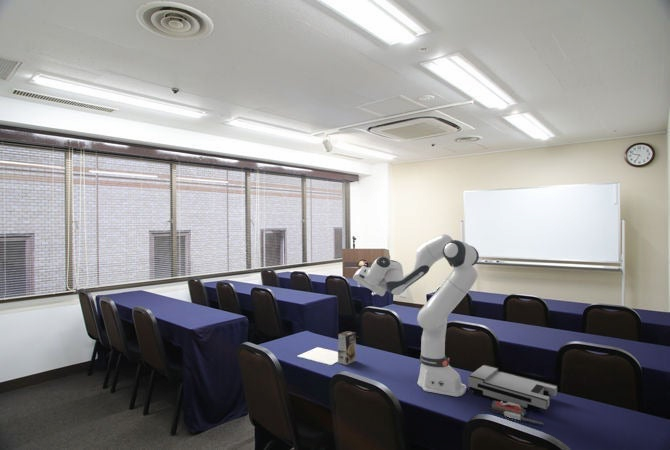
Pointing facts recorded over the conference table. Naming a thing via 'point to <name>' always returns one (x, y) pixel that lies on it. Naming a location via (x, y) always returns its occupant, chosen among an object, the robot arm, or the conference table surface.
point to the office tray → (511, 388)
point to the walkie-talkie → (510, 410)
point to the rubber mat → (321, 356)
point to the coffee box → (346, 347)
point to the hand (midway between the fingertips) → (365, 289)
